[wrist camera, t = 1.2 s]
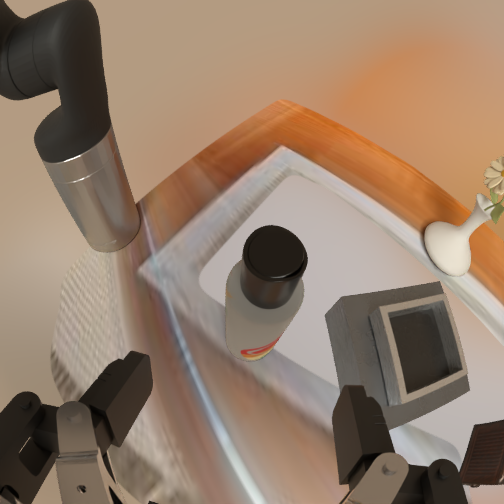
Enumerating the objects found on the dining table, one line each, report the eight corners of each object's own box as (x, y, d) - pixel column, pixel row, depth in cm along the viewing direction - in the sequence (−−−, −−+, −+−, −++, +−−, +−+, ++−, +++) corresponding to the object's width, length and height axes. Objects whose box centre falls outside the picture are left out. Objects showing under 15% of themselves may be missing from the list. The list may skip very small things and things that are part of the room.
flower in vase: (430, 218, 47) (497, 121, 26) (469, 256, 43) (546, 170, 22) (407, 255, 41) (496, 140, 20) (452, 299, 38) (556, 206, 16)
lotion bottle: (279, 354, 32) (342, 280, 15) (233, 367, 31) (243, 308, 14) (264, 312, 35) (303, 202, 18) (220, 323, 33) (215, 219, 16)
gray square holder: (324, 315, 35) (350, 286, 28) (417, 299, 37) (450, 271, 30) (347, 434, 27) (383, 437, 19) (442, 397, 29) (484, 386, 22)
